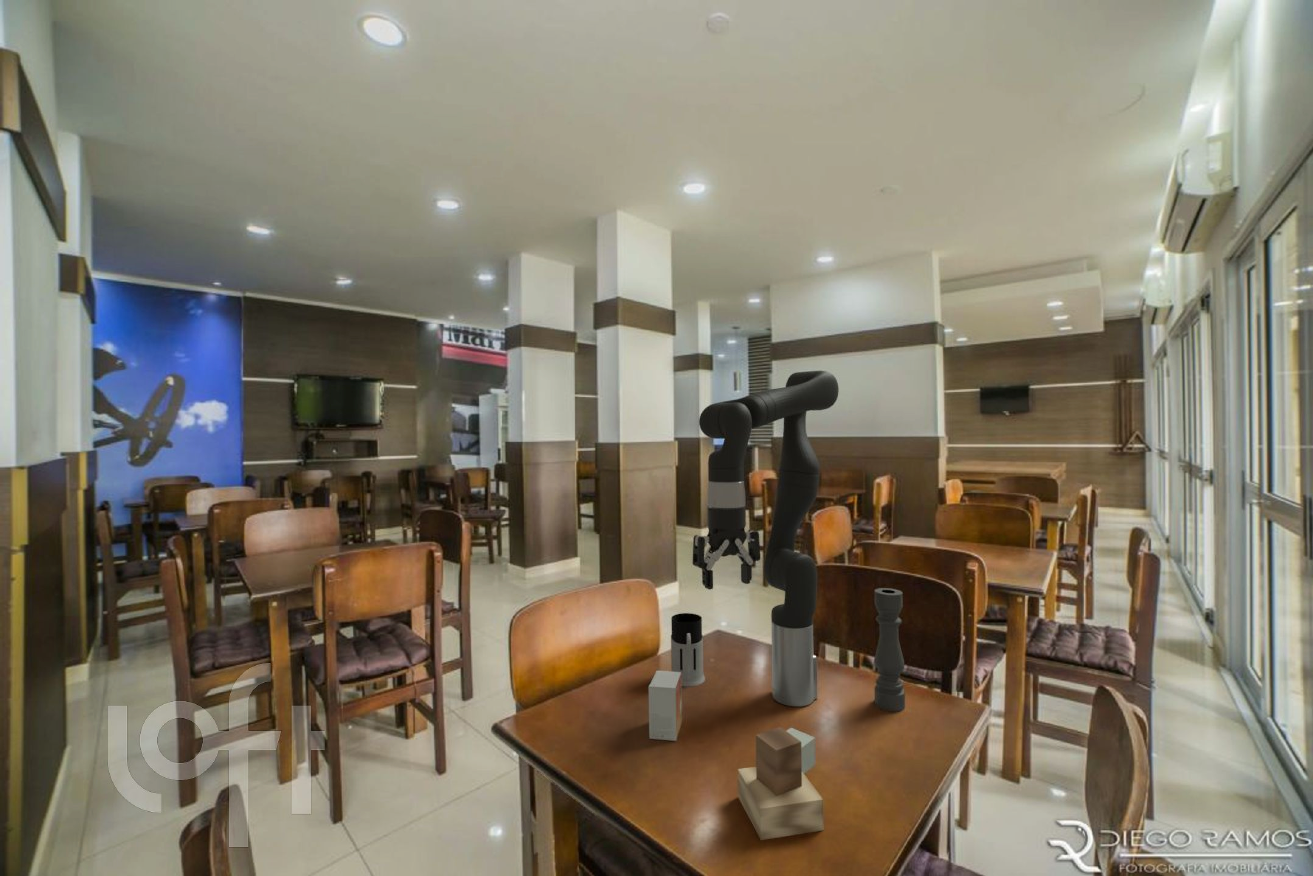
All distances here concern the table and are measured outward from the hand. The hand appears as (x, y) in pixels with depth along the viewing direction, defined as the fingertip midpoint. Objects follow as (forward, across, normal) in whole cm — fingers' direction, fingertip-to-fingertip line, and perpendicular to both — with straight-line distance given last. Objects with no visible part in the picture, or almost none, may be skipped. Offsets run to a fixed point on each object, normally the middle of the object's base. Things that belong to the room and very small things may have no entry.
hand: (727, 585), depth 110 cm
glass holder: (+30, -4, -25) cm, 39 cm away
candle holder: (+30, -39, +4) cm, 50 cm away
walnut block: (+26, +4, +22) cm, 34 cm away
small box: (+30, +10, -8) cm, 33 cm away
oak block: (+30, +5, +22) cm, 38 cm away
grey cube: (+30, -6, +13) cm, 33 cm away
